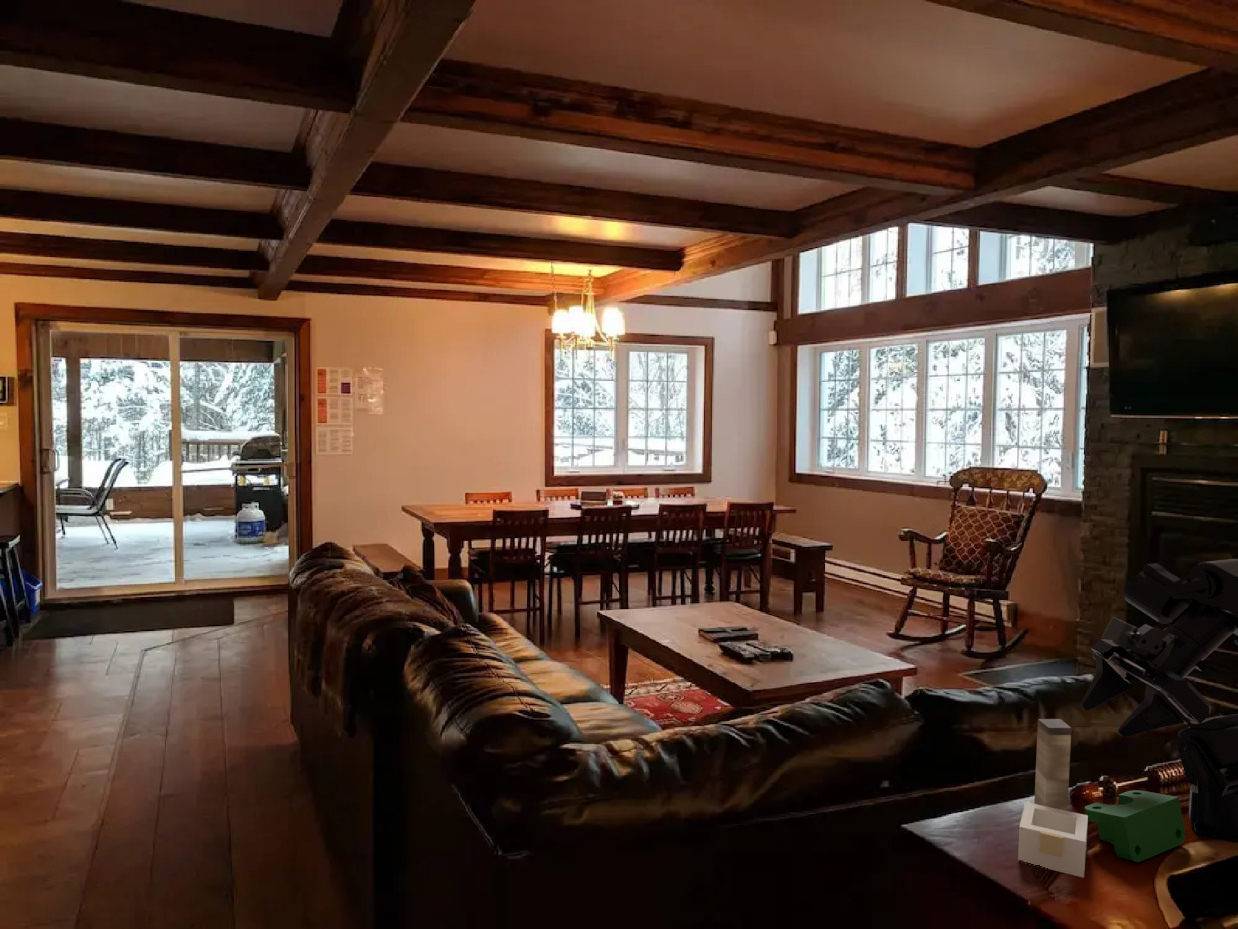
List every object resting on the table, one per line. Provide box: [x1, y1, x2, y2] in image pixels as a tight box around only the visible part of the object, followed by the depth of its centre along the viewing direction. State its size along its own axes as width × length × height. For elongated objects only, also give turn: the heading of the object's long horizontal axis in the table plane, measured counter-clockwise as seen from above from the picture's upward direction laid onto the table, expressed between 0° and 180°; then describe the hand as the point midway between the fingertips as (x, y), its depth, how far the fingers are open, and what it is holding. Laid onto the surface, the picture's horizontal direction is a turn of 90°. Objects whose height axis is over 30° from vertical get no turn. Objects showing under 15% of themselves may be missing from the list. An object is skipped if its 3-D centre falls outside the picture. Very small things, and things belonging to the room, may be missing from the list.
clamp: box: [1084, 789, 1186, 863], centre depth 111 cm, size 12×6×9 cm, turn 112°
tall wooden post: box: [1033, 718, 1072, 811], centre depth 118 cm, size 3×3×13 cm
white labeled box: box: [1017, 801, 1089, 878], centre depth 108 cm, size 7×8×5 cm
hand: (1100, 721), depth 117 cm, fingers open, 9 cm apart
